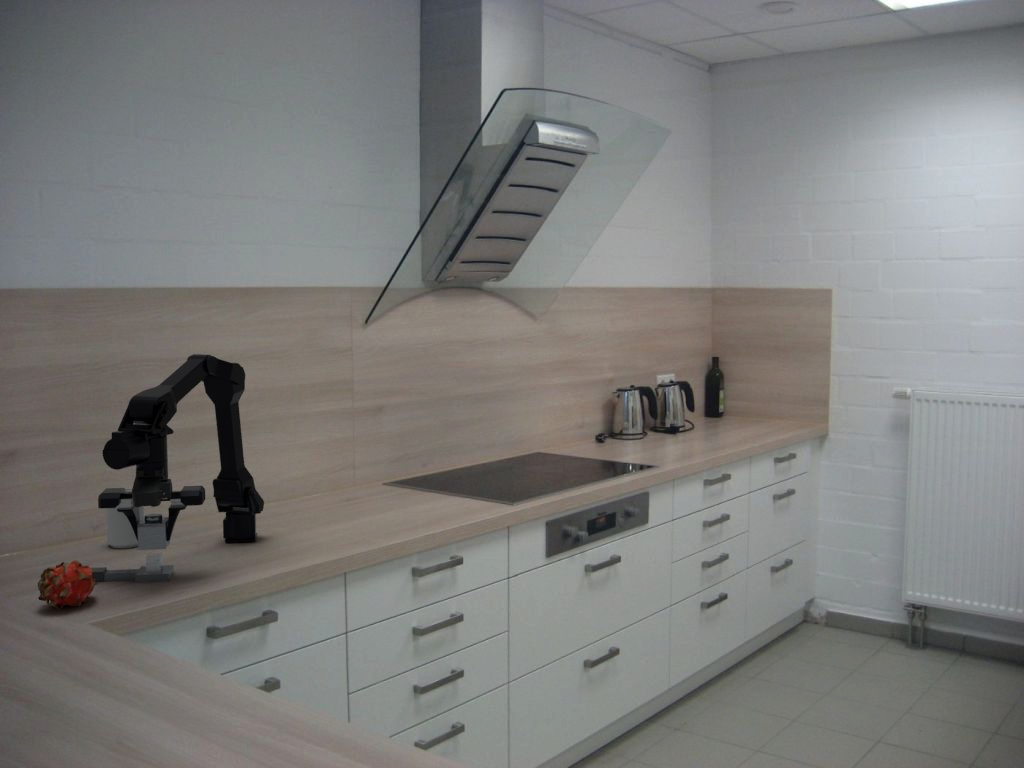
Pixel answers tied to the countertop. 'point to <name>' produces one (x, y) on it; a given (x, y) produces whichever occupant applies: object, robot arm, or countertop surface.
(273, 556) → the countertop surface
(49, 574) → the dragon fruit
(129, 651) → the countertop surface
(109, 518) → the can
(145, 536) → the dark grey block
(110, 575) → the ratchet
